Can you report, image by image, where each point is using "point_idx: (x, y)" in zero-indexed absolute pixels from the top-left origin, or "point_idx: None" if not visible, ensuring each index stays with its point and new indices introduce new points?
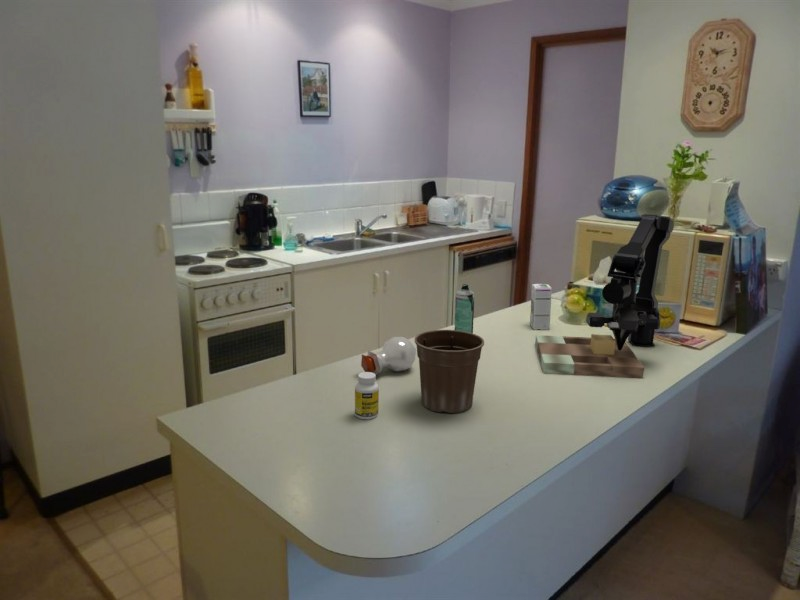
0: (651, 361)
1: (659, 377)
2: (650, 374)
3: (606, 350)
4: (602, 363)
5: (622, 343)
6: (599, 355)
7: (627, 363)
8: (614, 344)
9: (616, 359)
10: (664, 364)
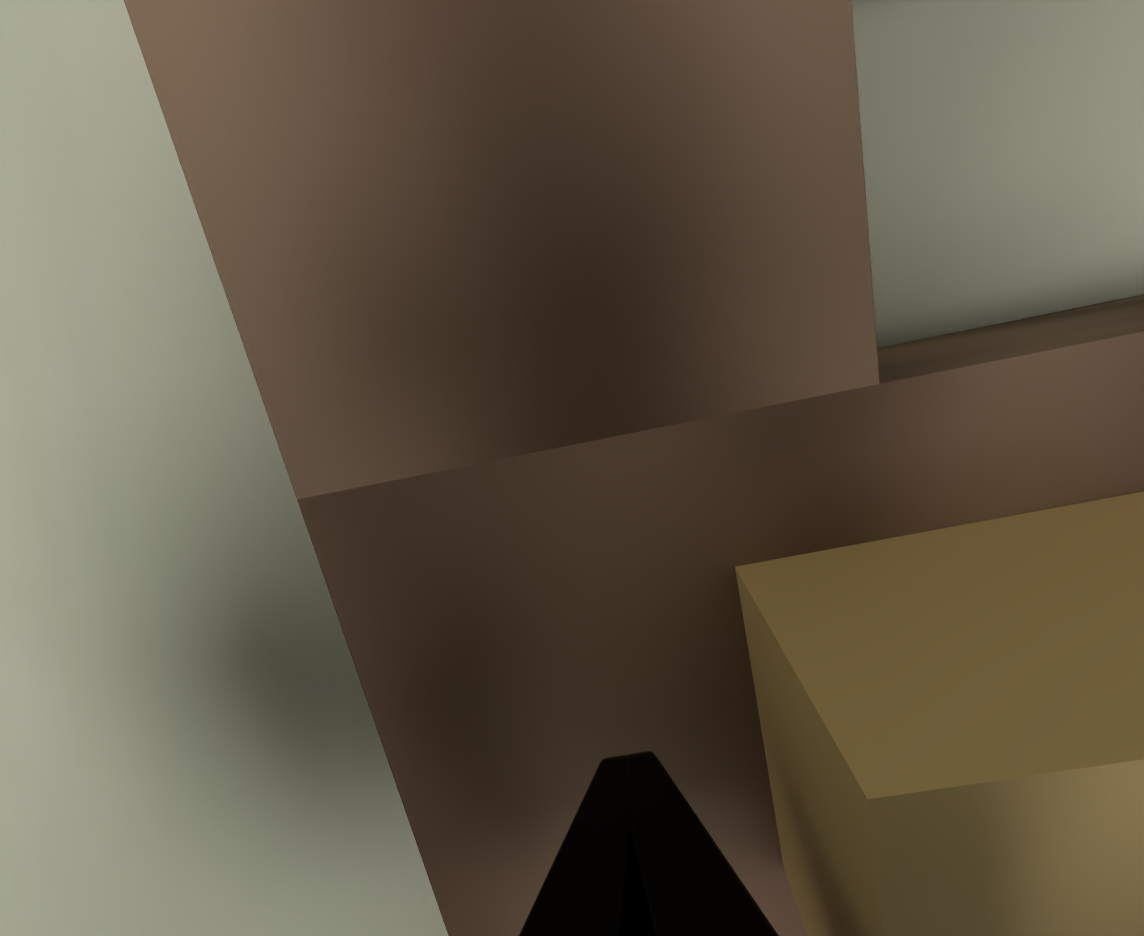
0: (220, 775)
1: (30, 188)
2: (167, 278)
3: (939, 574)
4: (895, 356)
5: (590, 878)
6: (1042, 426)
7: (470, 83)
8: (834, 705)
9: (702, 284)
10: (65, 723)
